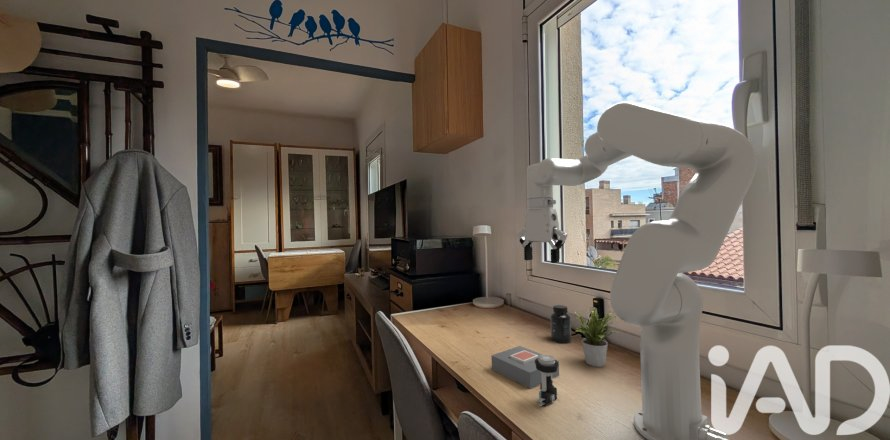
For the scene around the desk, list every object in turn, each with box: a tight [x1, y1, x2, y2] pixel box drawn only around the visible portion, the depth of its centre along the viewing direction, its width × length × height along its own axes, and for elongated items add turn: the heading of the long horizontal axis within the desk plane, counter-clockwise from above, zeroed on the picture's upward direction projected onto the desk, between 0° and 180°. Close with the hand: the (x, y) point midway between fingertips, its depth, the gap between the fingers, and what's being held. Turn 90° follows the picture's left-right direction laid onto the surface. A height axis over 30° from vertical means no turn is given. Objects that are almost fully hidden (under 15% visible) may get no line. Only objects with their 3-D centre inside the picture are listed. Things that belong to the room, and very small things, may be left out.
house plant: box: [572, 307, 619, 368], centre depth 94 cm, size 14×14×16 cm
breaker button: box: [510, 350, 538, 365], centre depth 90 cm, size 5×6×4 cm
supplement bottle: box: [550, 304, 572, 344], centre depth 114 cm, size 7×7×12 cm
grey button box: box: [491, 345, 560, 389], centre depth 89 cm, size 14×12×4 cm
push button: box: [535, 354, 558, 407], centre depth 74 cm, size 7×5×10 cm
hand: (541, 261), depth 96 cm, fingers open, 9 cm apart
